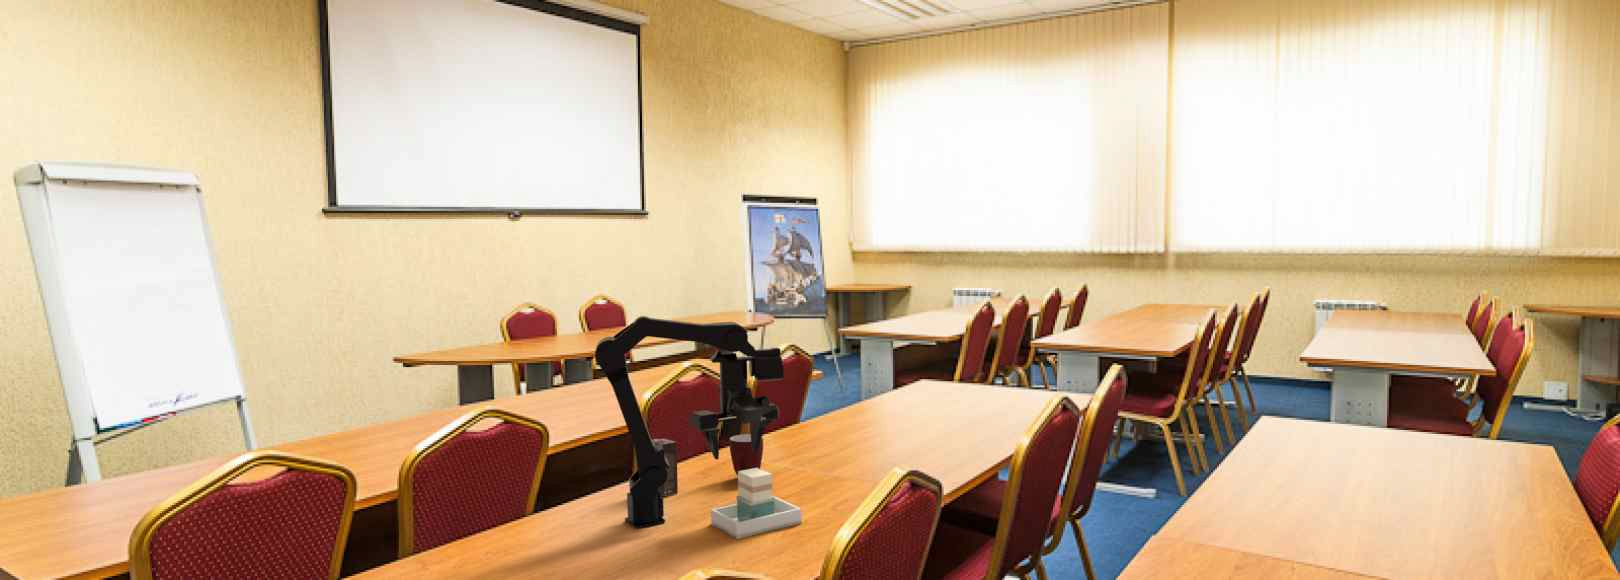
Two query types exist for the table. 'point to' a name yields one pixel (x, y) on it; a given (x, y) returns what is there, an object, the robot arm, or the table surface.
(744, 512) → the tin
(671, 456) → the box
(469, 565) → the table surface
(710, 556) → the table surface
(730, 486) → the table surface
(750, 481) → the carton
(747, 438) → the mug
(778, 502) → the tote
